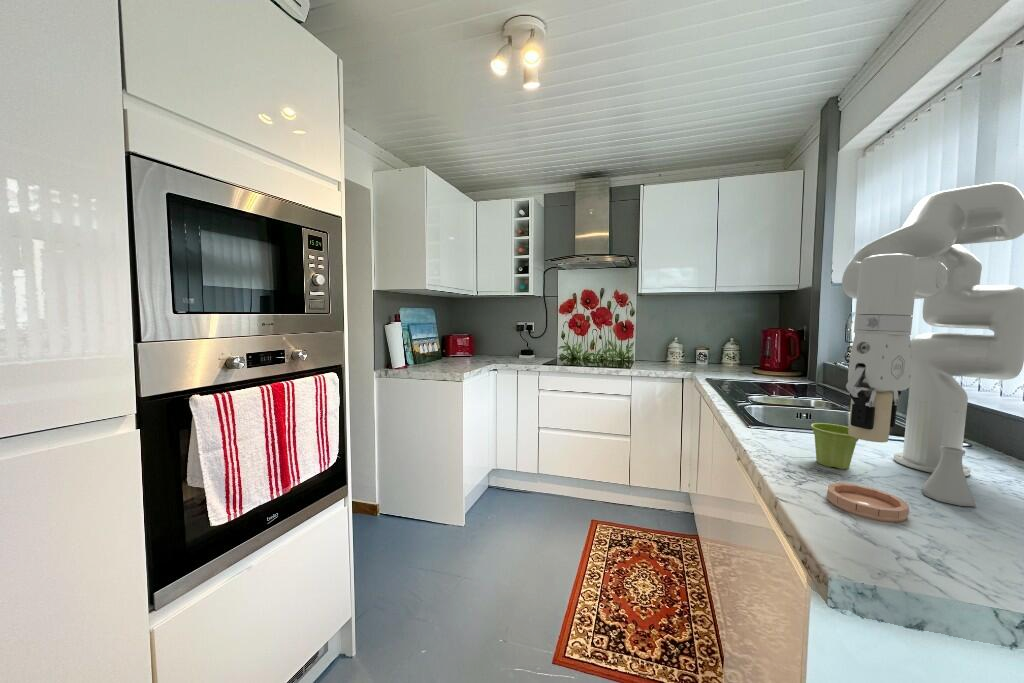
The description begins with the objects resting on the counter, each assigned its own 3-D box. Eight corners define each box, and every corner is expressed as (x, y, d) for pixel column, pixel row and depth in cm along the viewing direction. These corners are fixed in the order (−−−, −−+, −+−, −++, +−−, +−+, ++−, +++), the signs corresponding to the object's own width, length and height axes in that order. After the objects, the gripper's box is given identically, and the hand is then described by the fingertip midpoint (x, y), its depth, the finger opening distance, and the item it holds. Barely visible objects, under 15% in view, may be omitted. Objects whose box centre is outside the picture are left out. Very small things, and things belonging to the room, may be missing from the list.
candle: (859, 441, 71) (865, 385, 71) (841, 432, 77) (845, 380, 76) (896, 444, 70) (902, 387, 70) (874, 435, 76) (880, 382, 75)
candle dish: (849, 490, 81) (850, 480, 81) (921, 516, 71) (922, 505, 71) (813, 497, 77) (814, 487, 77) (883, 526, 67) (884, 514, 67)
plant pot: (869, 470, 92) (872, 433, 91) (839, 474, 89) (842, 435, 89) (827, 456, 101) (829, 422, 100) (798, 459, 98) (801, 424, 98)
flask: (958, 494, 80) (963, 445, 80) (986, 510, 74) (992, 457, 73) (912, 488, 83) (917, 440, 82) (935, 503, 76) (941, 451, 75)
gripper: (878, 325, 65) (867, 436, 66) (937, 327, 71) (926, 428, 72) (827, 324, 72) (818, 424, 73) (885, 325, 78) (876, 418, 79)
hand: (872, 425), depth 73 cm, fingers closed on candle, 5 cm apart
